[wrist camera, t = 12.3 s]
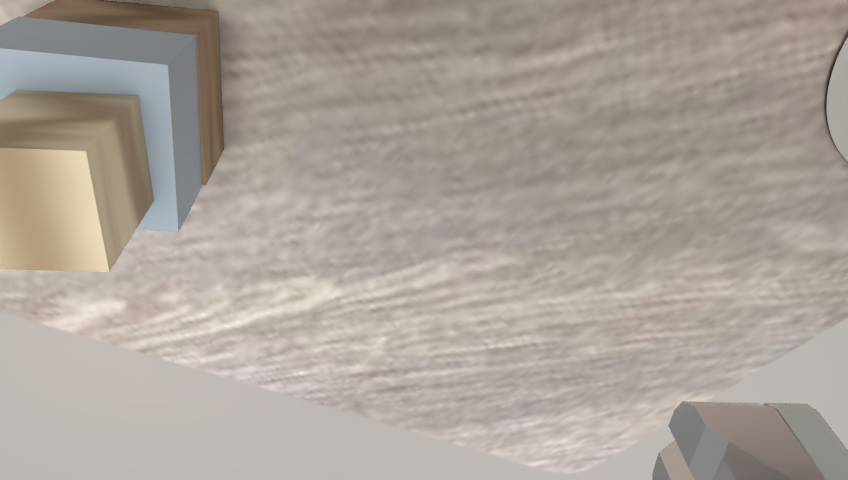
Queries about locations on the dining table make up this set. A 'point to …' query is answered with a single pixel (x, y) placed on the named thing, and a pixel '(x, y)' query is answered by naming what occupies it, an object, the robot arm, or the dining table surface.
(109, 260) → the maple block
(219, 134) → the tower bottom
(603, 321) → the dining table surface
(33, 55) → the tower top
